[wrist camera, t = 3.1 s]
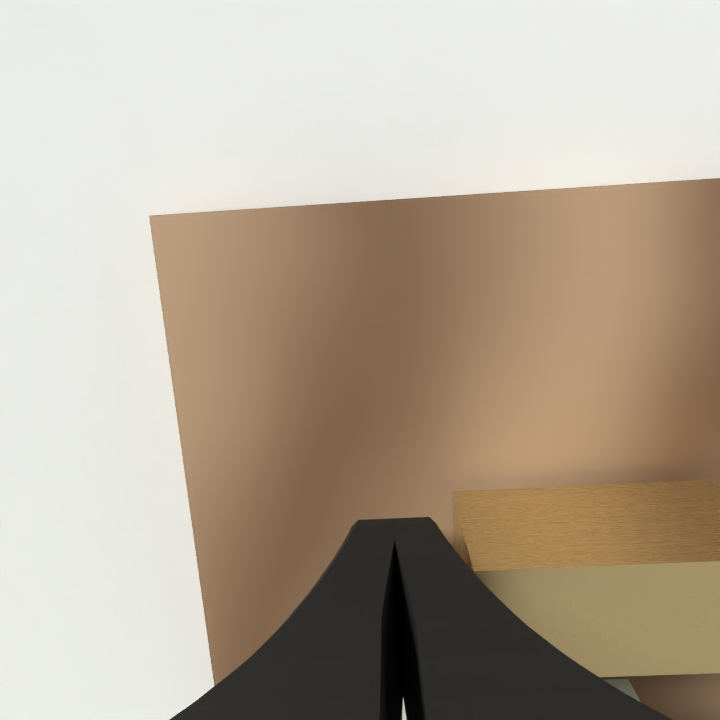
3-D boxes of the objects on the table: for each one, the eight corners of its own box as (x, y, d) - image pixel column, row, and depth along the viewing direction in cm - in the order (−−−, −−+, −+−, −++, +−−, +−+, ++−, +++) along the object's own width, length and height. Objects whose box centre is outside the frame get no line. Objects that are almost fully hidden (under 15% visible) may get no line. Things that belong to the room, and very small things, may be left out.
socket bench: (1196, 148, 11) (1507, 124, 8) (1015, 902, 15) (1175, 1075, 12) (168, 214, 11) (97, 216, 8) (261, 917, 15) (233, 1084, 12)
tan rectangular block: (709, 479, 11) (807, 558, 8) (703, 571, 11) (793, 670, 9) (452, 491, 11) (473, 571, 9) (455, 581, 11) (476, 680, 9)
